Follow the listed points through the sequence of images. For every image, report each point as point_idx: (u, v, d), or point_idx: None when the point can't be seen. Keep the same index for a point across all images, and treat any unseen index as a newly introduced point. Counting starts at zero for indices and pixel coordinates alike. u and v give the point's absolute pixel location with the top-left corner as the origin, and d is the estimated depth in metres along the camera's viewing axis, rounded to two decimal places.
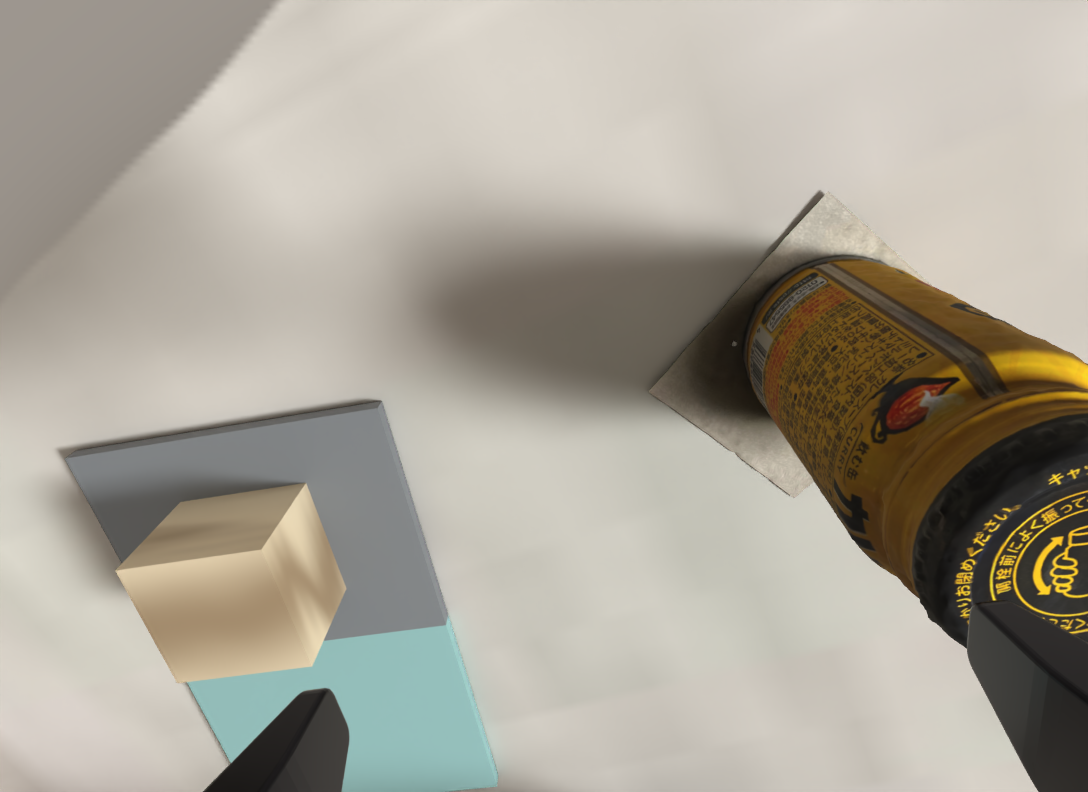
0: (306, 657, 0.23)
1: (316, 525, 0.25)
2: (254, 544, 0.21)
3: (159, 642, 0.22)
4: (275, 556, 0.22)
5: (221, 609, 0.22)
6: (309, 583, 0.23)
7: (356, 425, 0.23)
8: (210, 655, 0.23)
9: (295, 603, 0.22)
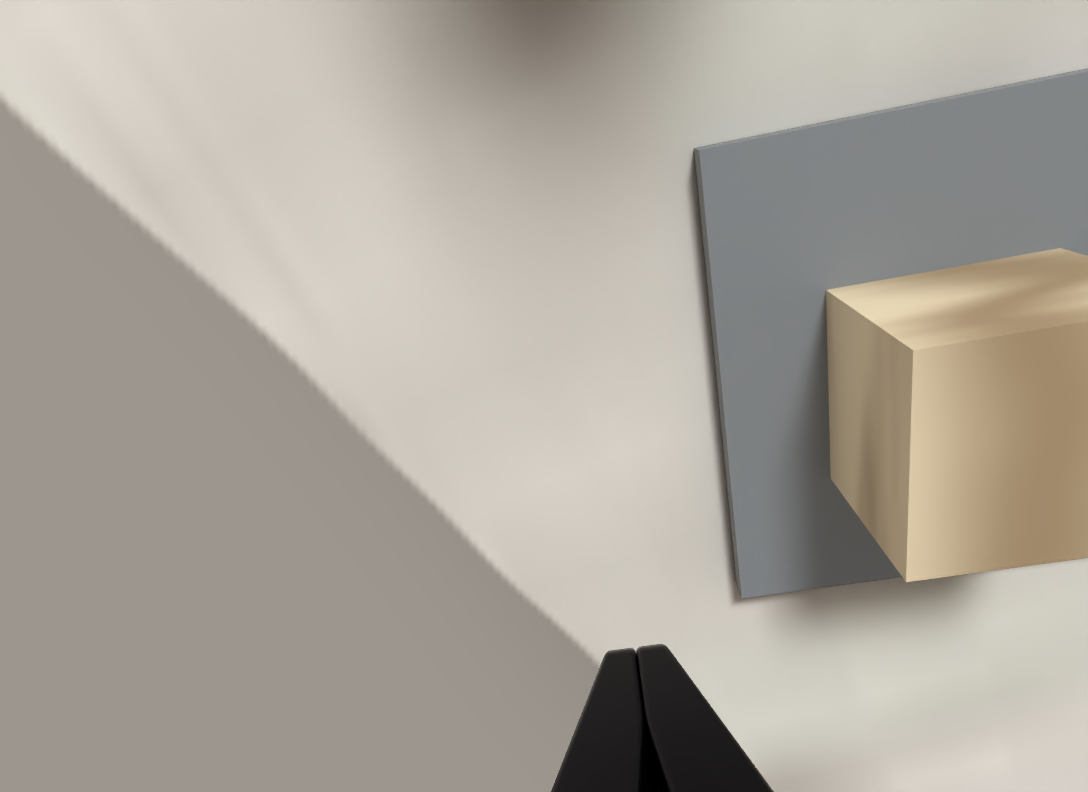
0: None
1: (910, 280, 0.14)
2: (902, 364, 0.12)
3: (1072, 553, 0.13)
4: (939, 333, 0.12)
5: (1029, 441, 0.12)
6: (1023, 292, 0.12)
7: (728, 190, 0.14)
8: None
9: (1057, 313, 0.11)
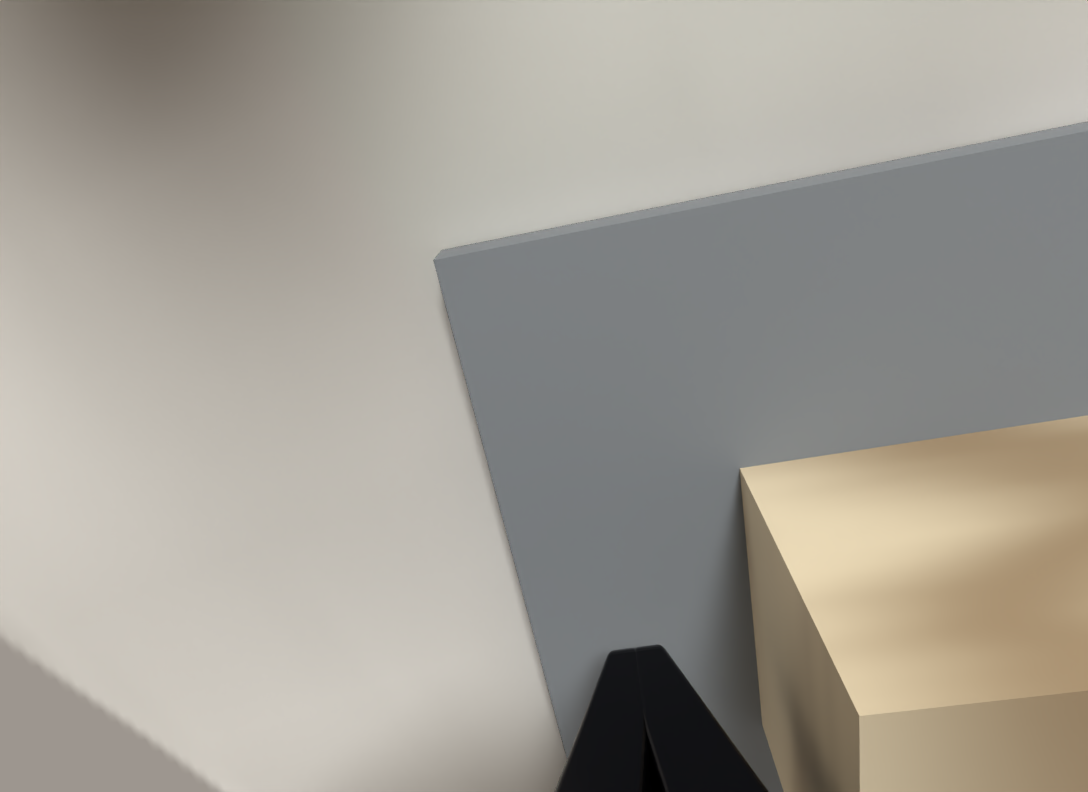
0: None
1: (875, 464, 0.09)
2: (842, 712, 0.06)
3: None
4: (915, 654, 0.06)
5: None
6: (1078, 537, 0.07)
7: (493, 323, 0.08)
8: None
9: None
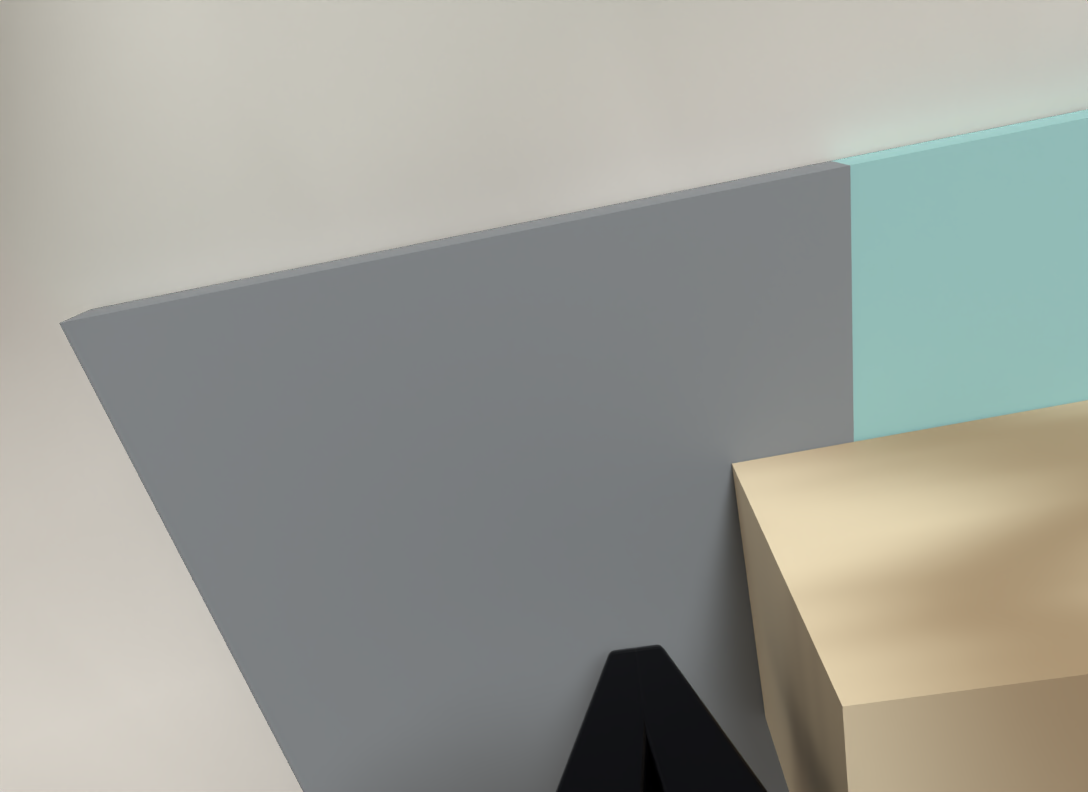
0: None
1: (866, 456, 0.09)
2: (828, 702, 0.06)
3: None
4: (900, 645, 0.06)
5: None
6: (1066, 524, 0.07)
7: (128, 380, 0.09)
8: None
9: None
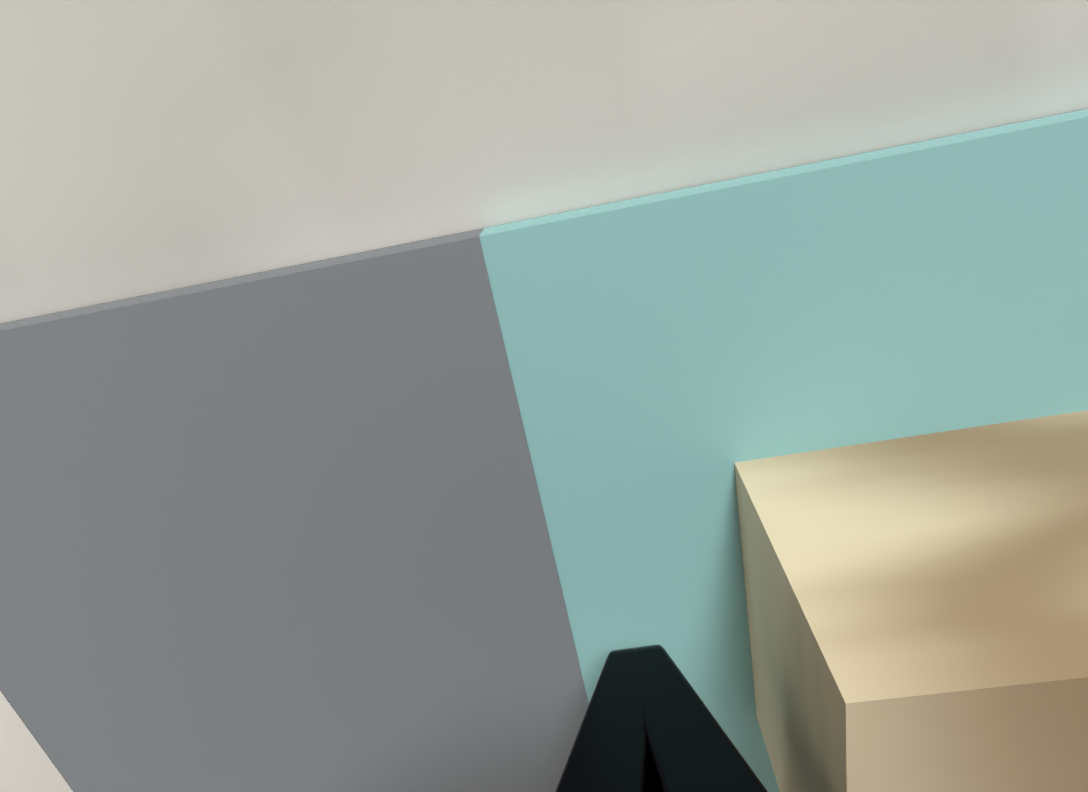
0: None
1: (868, 458, 0.09)
2: (830, 700, 0.06)
3: None
4: (901, 644, 0.06)
5: None
6: (1065, 530, 0.07)
7: None
8: None
9: None
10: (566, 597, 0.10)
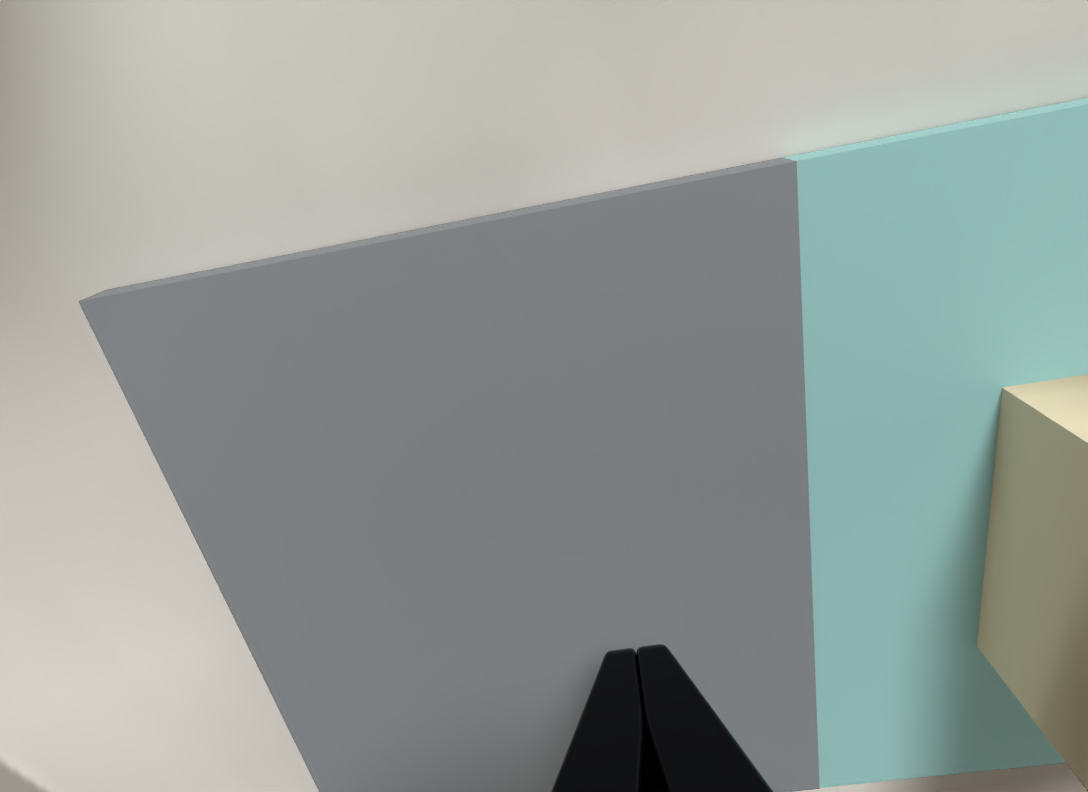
0: None
1: None
2: None
3: None
4: None
5: None
6: None
7: (140, 355, 0.10)
8: None
9: None
10: (812, 525, 0.11)
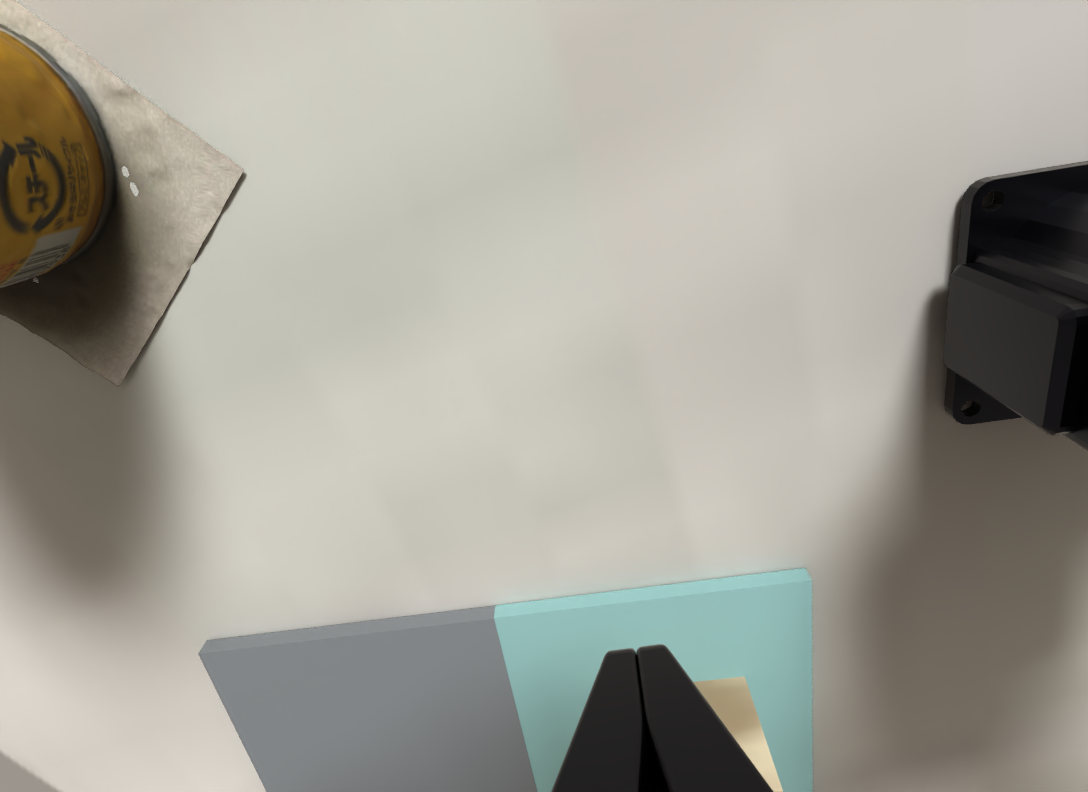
0: None
1: None
2: None
3: None
4: None
5: None
6: None
7: (223, 672, 0.22)
8: None
9: None
10: (525, 740, 0.23)
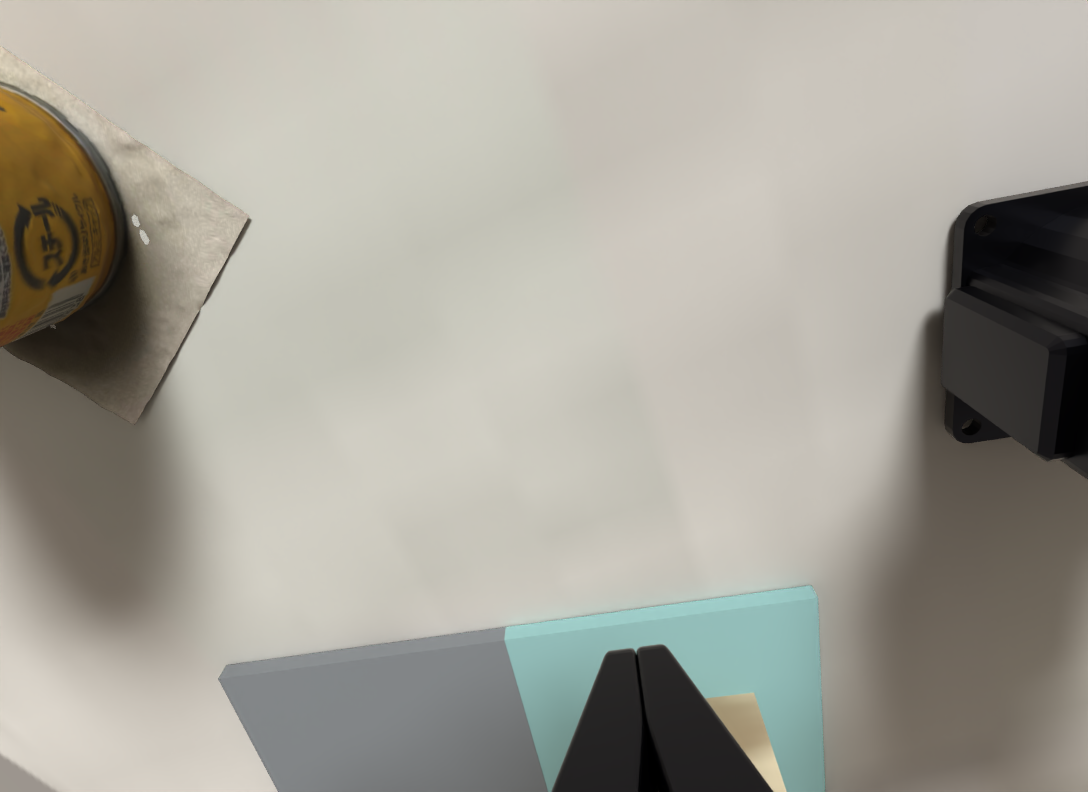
0: None
1: None
2: None
3: None
4: None
5: None
6: None
7: (242, 696, 0.23)
8: None
9: None
10: (539, 758, 0.24)
